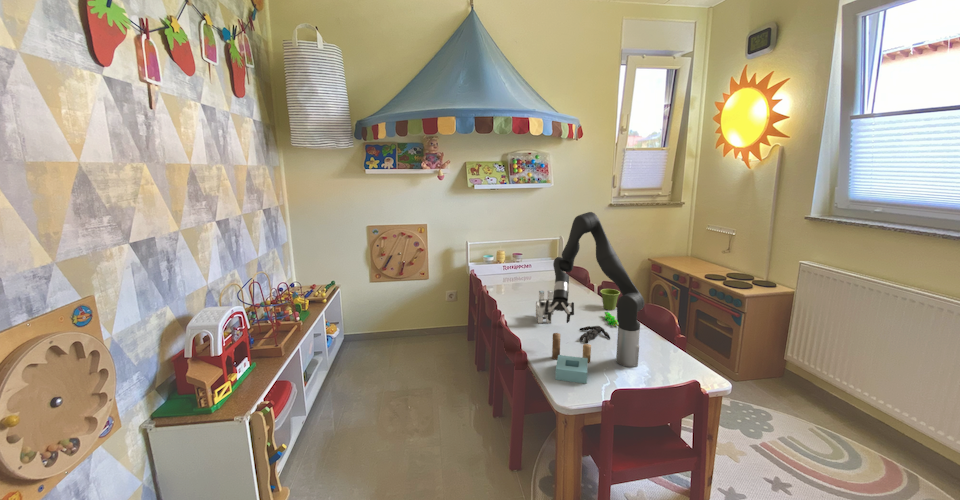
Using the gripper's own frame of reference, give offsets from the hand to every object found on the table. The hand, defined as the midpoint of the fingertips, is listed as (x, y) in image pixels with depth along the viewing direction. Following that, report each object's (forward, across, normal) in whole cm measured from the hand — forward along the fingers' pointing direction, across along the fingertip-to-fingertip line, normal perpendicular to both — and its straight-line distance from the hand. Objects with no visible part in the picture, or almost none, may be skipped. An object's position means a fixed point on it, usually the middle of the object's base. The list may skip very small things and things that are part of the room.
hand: (558, 321), depth 192 cm
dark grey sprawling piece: (-3, +17, +25) cm, 31 cm away
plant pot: (-36, +27, +57) cm, 72 cm away
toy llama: (-14, -11, +35) cm, 39 cm away
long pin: (+17, 0, +4) cm, 18 cm away
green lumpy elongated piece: (-19, +27, +41) cm, 53 cm away
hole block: (+26, +8, -5) cm, 28 cm away
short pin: (+17, +14, +4) cm, 22 cm away
